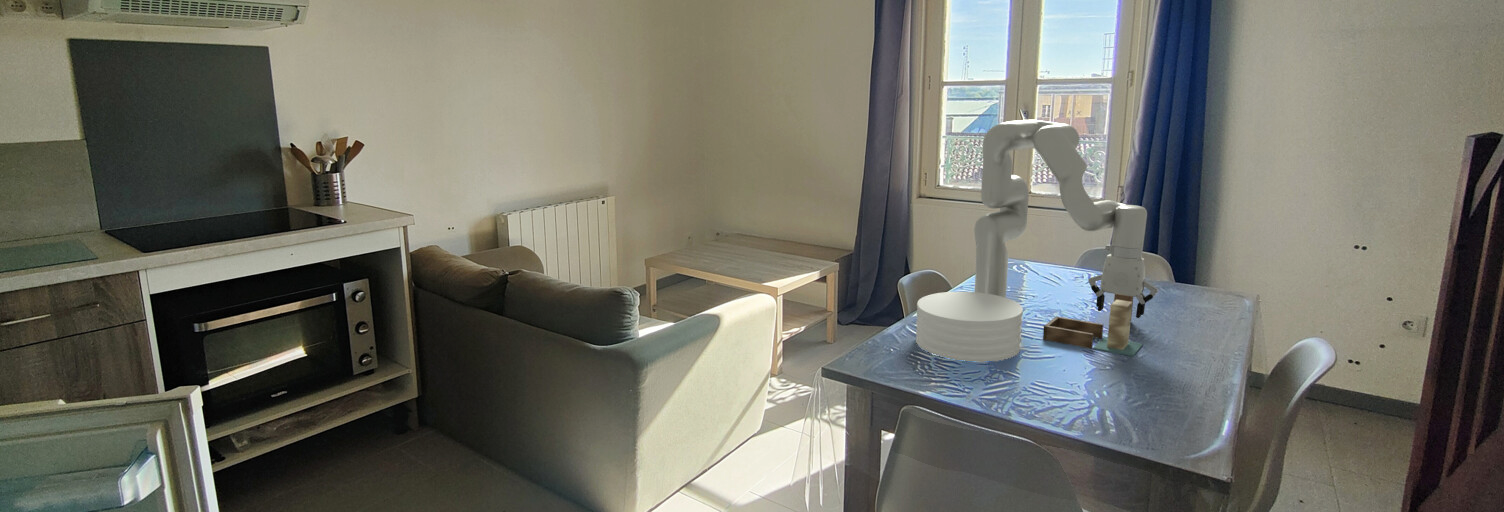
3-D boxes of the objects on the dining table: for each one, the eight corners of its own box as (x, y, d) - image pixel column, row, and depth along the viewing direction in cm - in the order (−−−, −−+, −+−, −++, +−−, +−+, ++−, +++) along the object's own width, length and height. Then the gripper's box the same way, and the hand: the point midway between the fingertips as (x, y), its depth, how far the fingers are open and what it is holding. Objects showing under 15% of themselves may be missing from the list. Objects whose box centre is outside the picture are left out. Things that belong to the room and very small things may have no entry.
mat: (1093, 349, 211) (1093, 347, 211) (1104, 338, 220) (1104, 336, 220) (1133, 356, 205) (1133, 355, 205) (1142, 344, 214) (1142, 343, 214)
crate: (1042, 339, 219) (1043, 326, 218) (1055, 329, 228) (1056, 316, 227) (1091, 348, 212) (1092, 334, 211) (1102, 337, 220) (1103, 324, 219)
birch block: (1107, 347, 211) (1110, 304, 209) (1112, 341, 216) (1116, 299, 213) (1122, 350, 209) (1126, 307, 206) (1128, 343, 213) (1132, 301, 211)
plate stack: (1020, 333, 225) (1023, 295, 223) (1019, 367, 200) (1022, 325, 197) (922, 325, 234) (923, 288, 232) (909, 356, 209) (910, 316, 206)
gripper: (1088, 250, 209) (1081, 310, 213) (1159, 259, 198) (1151, 323, 203) (1096, 244, 215) (1089, 304, 219) (1165, 254, 204) (1157, 316, 208)
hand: (1119, 313), depth 211 cm, fingers open, 9 cm apart
